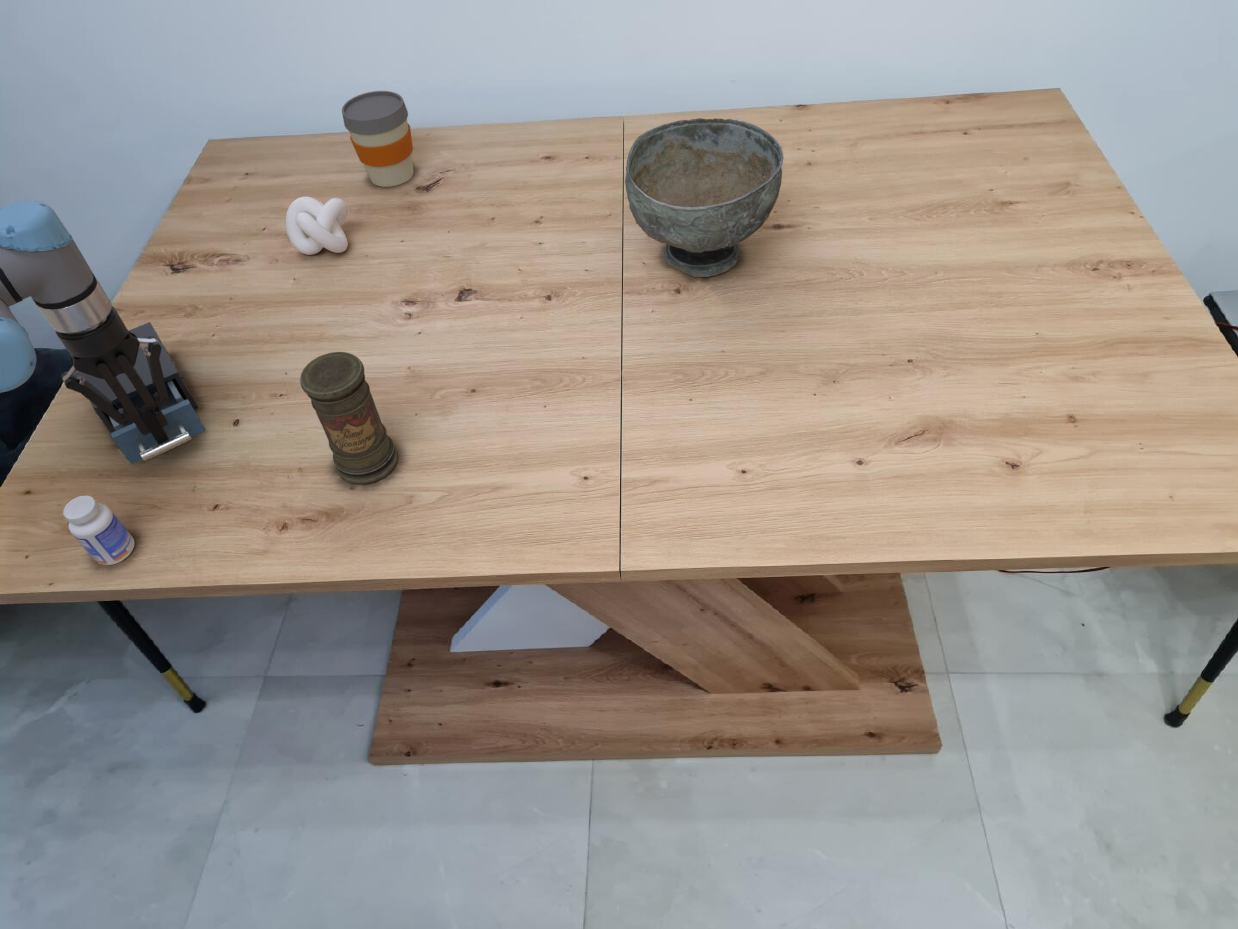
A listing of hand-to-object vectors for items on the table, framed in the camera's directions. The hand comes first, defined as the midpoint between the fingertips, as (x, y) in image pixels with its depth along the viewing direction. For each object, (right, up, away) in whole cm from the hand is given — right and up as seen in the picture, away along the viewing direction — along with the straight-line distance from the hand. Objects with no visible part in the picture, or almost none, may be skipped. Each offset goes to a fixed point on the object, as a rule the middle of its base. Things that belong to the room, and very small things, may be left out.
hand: (164, 443), depth 133 cm
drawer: (-4, +2, +6) cm, 7 cm away
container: (+30, -3, -1) cm, 30 cm away
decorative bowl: (+82, +34, +28) cm, 93 cm away
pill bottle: (-2, -15, -9) cm, 18 cm away
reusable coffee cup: (+20, +57, +54) cm, 81 cm away
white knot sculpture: (+12, +38, +37) cm, 54 cm away
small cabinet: (-9, +8, +12) cm, 17 cm away
